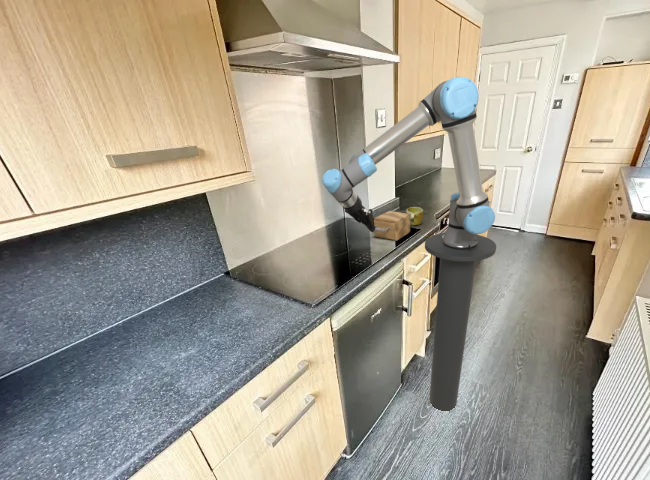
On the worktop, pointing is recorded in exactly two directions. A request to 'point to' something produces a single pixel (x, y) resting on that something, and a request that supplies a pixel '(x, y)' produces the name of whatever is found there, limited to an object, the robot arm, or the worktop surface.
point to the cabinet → (397, 222)
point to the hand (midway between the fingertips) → (373, 229)
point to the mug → (415, 215)
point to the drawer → (385, 229)
